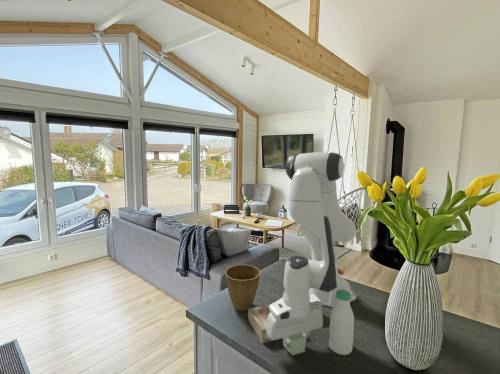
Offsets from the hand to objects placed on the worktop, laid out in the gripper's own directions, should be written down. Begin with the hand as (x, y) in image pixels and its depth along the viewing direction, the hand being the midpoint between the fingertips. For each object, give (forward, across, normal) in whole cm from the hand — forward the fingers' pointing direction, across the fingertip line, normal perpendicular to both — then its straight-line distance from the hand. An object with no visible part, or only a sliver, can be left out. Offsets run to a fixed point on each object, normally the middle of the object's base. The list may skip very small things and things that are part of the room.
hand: (294, 343), depth 92 cm
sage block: (+2, 0, 0) cm, 2 cm away
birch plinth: (+2, +2, -13) cm, 13 cm away
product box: (+2, -16, -15) cm, 22 cm away
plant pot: (+2, +9, -30) cm, 31 cm away
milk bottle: (+2, -15, +5) cm, 16 cm away
